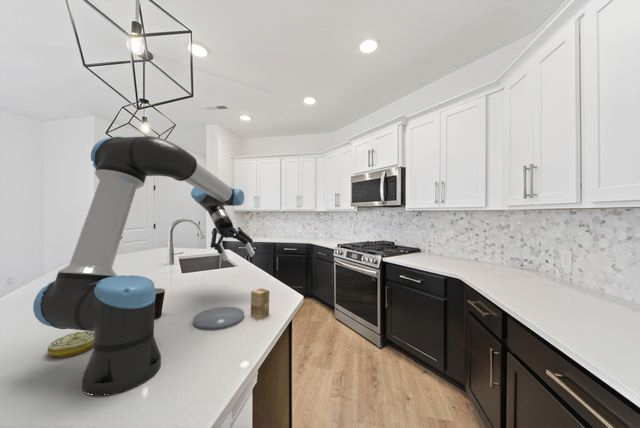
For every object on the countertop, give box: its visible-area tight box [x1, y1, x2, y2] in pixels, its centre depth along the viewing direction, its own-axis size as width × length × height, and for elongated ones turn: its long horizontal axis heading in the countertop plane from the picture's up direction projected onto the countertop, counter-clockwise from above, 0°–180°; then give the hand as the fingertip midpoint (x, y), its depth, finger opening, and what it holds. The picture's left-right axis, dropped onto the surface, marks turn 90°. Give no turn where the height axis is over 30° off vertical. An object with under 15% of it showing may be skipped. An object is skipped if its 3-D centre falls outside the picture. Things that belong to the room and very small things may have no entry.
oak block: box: [250, 288, 270, 321], centre depth 98 cm, size 5×5×10 cm
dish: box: [192, 306, 245, 331], centre depth 94 cm, size 18×18×2 cm
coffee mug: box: [154, 287, 166, 321], centre depth 94 cm, size 12×9×10 cm
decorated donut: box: [47, 330, 94, 358], centre depth 72 cm, size 10×11×4 cm
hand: (239, 256), depth 108 cm, fingers open, 13 cm apart
